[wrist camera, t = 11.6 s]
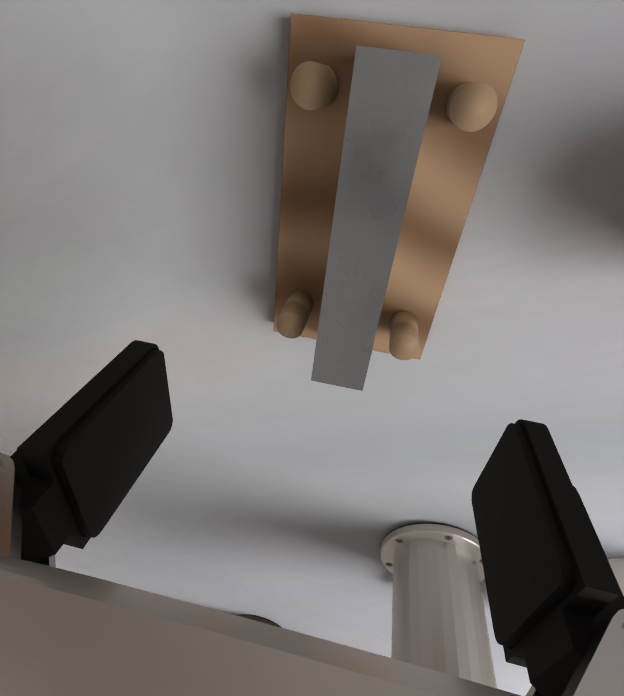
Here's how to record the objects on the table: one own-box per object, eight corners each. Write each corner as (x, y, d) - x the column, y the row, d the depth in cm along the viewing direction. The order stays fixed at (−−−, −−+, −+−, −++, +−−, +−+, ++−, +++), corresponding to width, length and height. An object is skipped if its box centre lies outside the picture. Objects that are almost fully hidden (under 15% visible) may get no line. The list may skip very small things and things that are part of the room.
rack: (419, 350, 32) (421, 387, 28) (277, 323, 33) (260, 355, 29) (519, 41, 20) (546, 31, 17) (296, 16, 22) (273, 1, 18)
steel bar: (367, 54, 21) (356, 45, 16) (432, 62, 21) (442, 55, 16) (325, 334, 31) (311, 380, 26) (368, 342, 31) (362, 390, 26)
